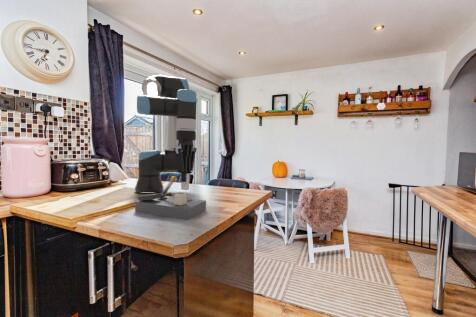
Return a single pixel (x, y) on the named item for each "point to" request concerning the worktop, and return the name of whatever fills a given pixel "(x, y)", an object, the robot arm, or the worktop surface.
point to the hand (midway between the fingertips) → (185, 189)
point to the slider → (180, 198)
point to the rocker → (149, 196)
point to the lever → (168, 186)
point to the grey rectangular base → (171, 207)
